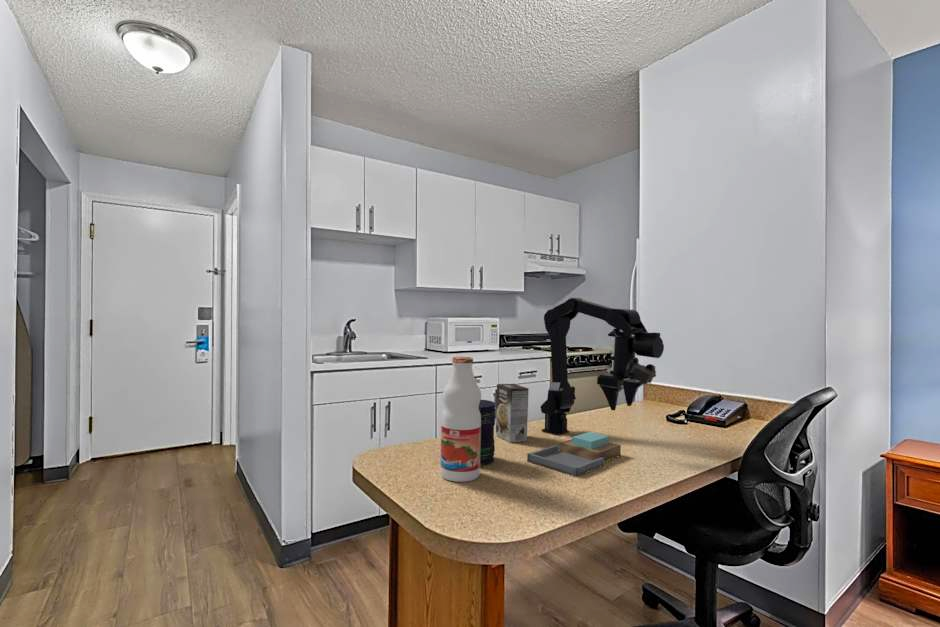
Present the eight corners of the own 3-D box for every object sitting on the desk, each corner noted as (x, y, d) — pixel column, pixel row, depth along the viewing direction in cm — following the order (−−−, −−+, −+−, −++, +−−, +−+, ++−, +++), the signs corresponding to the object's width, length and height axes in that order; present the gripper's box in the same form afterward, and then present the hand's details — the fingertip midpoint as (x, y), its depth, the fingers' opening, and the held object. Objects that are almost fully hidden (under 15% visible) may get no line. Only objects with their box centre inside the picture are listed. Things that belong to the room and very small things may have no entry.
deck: (560, 453, 134) (560, 442, 134) (582, 446, 142) (583, 435, 141) (598, 464, 125) (599, 452, 125) (620, 455, 133) (620, 445, 133)
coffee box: (494, 435, 151) (495, 383, 151) (512, 433, 154) (513, 382, 154) (509, 443, 143) (510, 388, 143) (527, 441, 146) (529, 387, 145)
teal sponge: (571, 444, 132) (572, 437, 132) (590, 438, 139) (590, 431, 139) (591, 449, 128) (591, 441, 128) (608, 443, 134) (609, 436, 134)
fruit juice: (486, 472, 117) (488, 357, 117) (470, 485, 108) (472, 360, 108) (451, 466, 121) (453, 354, 121) (433, 478, 112) (435, 358, 112)
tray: (527, 461, 126) (527, 453, 126) (555, 452, 135) (556, 444, 135) (576, 476, 116) (576, 468, 116) (603, 465, 124) (604, 458, 124)
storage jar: (491, 467, 121) (492, 408, 121) (452, 464, 123) (454, 405, 123) (497, 455, 131) (498, 400, 130) (461, 452, 133) (462, 398, 132)
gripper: (635, 359, 126) (632, 419, 126) (666, 355, 139) (663, 409, 139) (597, 354, 133) (594, 410, 134) (630, 350, 147) (627, 401, 147)
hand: (621, 408), depth 138 cm, fingers open, 9 cm apart
